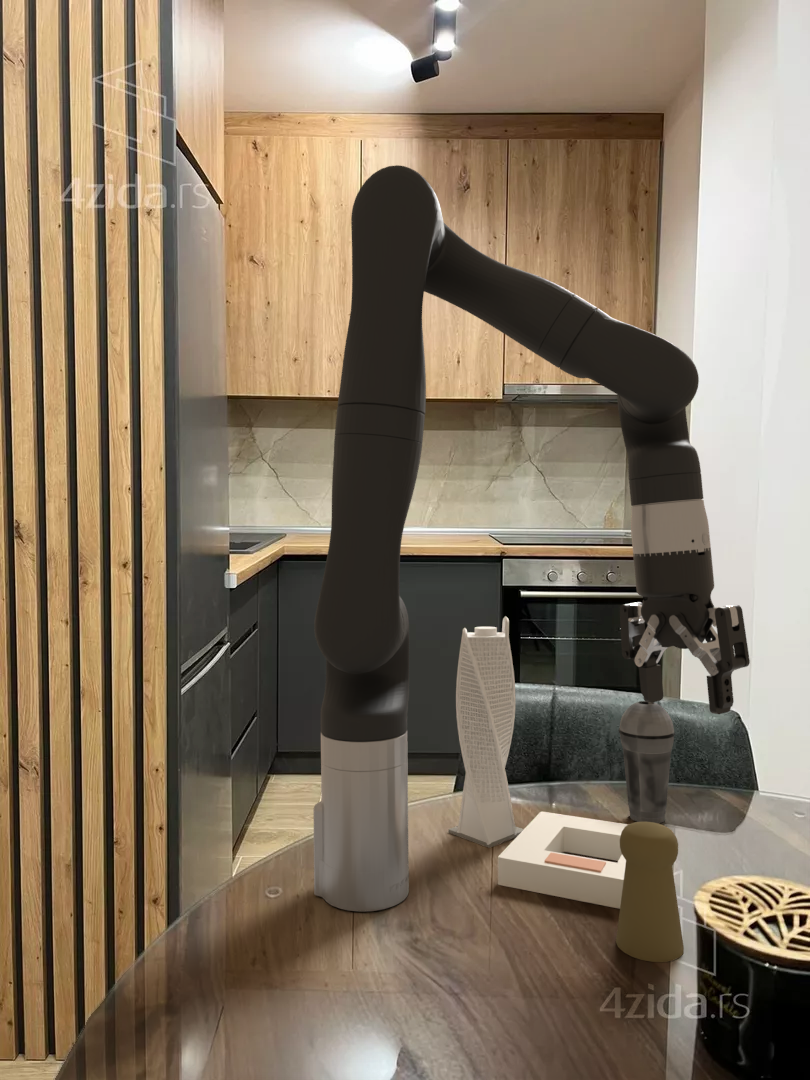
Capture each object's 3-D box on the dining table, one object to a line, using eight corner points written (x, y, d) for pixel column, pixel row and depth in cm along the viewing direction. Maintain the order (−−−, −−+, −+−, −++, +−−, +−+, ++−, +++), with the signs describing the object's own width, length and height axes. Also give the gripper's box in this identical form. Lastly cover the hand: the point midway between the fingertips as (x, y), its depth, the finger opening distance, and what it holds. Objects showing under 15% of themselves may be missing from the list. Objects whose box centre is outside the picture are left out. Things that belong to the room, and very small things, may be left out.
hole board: (497, 884, 87) (497, 855, 87) (541, 834, 101) (541, 809, 101) (649, 914, 79) (649, 882, 79) (673, 856, 94) (672, 829, 94)
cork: (688, 965, 70) (687, 840, 70) (617, 958, 71) (616, 835, 71) (679, 931, 76) (678, 816, 76) (613, 926, 77) (612, 812, 77)
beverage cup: (608, 812, 109) (607, 666, 109) (654, 806, 111) (653, 663, 111) (639, 830, 102) (638, 674, 102) (687, 823, 104) (686, 671, 104)
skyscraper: (534, 836, 100) (533, 614, 100) (492, 853, 95) (490, 619, 95) (485, 819, 107) (483, 610, 107) (442, 834, 101) (440, 614, 101)
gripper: (594, 553, 85) (608, 704, 85) (702, 547, 73) (719, 724, 73) (645, 547, 89) (658, 692, 89) (756, 541, 76) (772, 709, 76)
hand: (685, 706), depth 81 cm, fingers open, 8 cm apart
